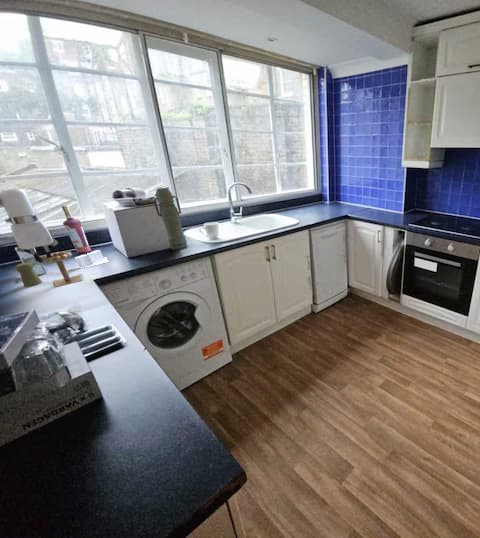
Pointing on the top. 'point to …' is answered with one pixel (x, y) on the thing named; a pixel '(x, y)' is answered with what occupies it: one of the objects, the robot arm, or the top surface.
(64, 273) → the stand
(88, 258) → the napkin holder
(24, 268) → the cork
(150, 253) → the top surface
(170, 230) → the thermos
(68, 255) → the brass hoop
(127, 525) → the top surface
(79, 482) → the top surface
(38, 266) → the syrup box
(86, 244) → the liquor
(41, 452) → the top surface
